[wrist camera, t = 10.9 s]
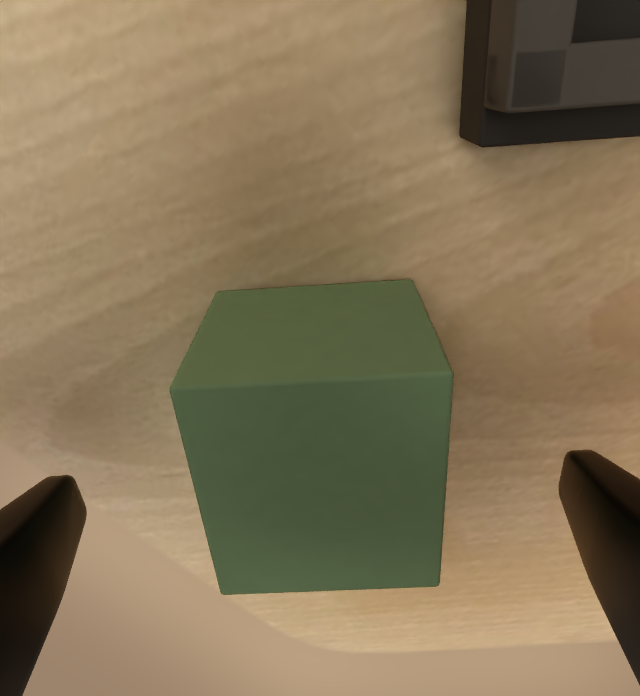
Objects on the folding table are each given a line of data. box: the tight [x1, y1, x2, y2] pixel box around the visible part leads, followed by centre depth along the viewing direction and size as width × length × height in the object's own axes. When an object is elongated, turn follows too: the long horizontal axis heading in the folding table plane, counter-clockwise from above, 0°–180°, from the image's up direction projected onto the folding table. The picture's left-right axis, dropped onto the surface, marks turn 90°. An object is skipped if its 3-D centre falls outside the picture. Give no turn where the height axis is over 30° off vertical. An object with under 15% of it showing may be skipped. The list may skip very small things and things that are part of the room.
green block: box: [169, 279, 454, 595], centre depth 11 cm, size 4×5×4 cm
